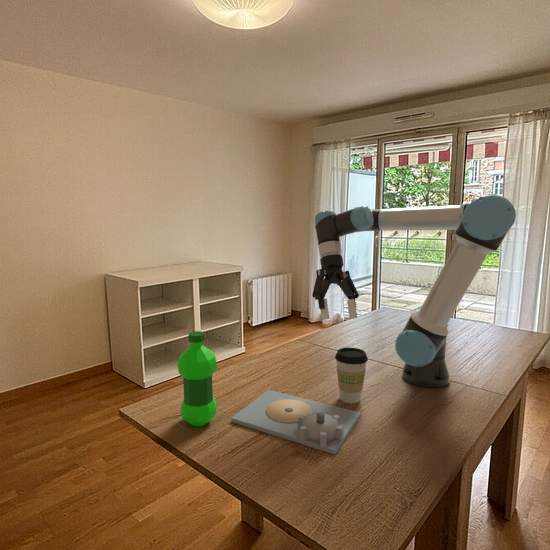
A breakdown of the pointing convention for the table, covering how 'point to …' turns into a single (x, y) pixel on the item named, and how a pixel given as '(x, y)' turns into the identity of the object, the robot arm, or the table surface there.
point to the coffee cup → (351, 373)
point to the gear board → (299, 420)
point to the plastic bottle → (197, 381)
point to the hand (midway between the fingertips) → (340, 319)
